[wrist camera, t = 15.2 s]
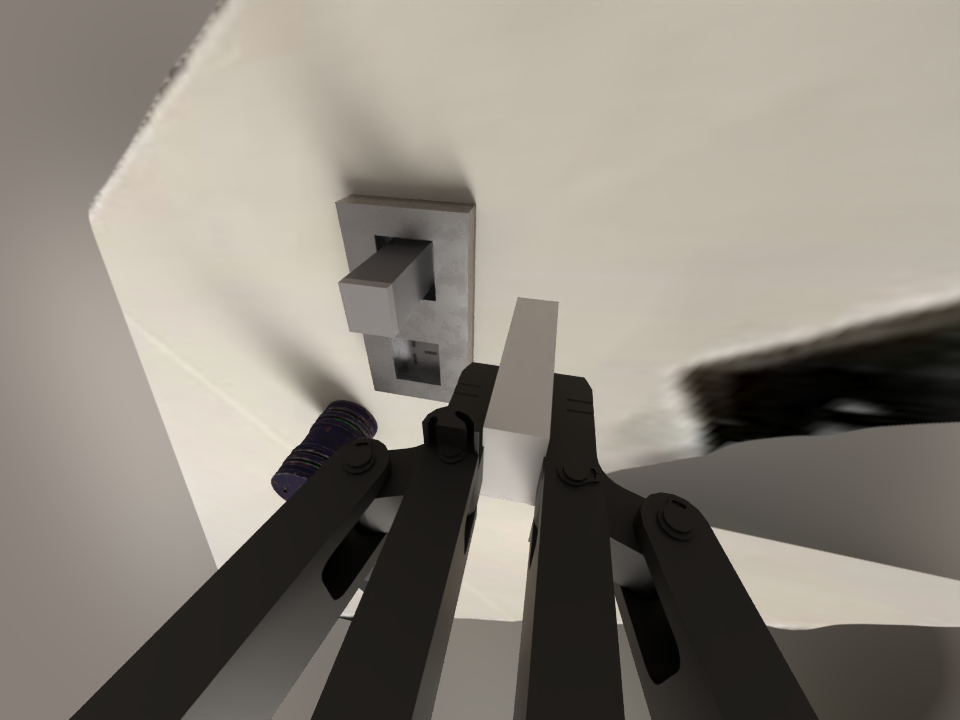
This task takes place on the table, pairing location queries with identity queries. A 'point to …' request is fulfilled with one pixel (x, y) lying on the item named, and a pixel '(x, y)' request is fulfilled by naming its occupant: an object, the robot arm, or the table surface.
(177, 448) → the table surface
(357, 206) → the socket board
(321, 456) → the storage jar
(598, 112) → the table surface
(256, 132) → the table surface
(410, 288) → the plug
